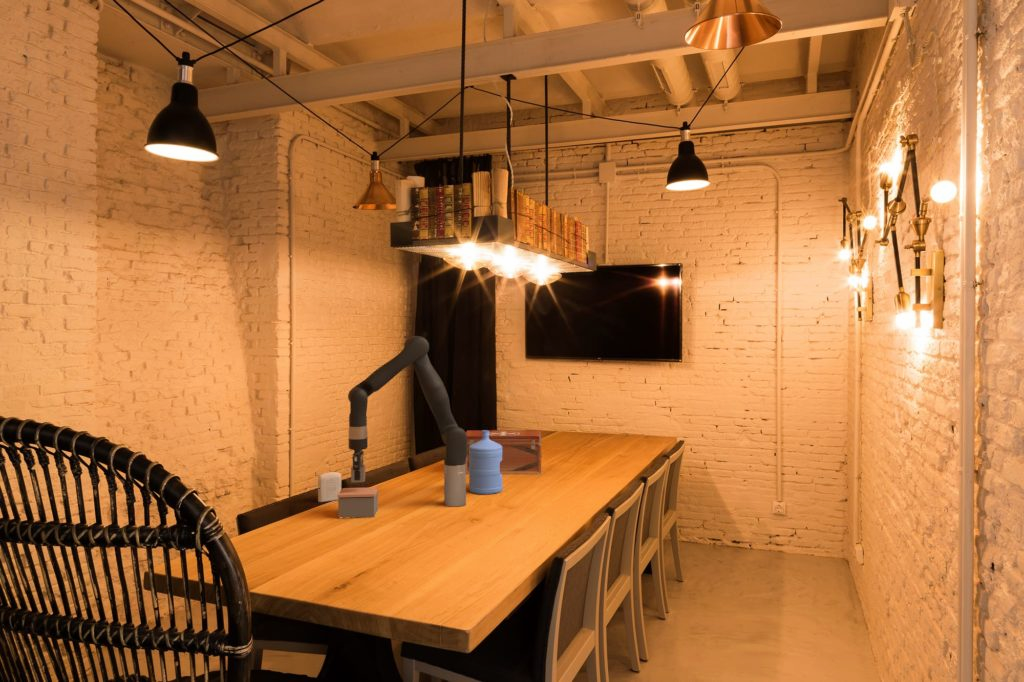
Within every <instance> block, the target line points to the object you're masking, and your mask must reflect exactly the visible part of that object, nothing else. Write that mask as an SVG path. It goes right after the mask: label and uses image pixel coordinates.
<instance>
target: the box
mask: <svg viewBox="0 0 1024 682" xmlns="http://www.w3.org/2000/svg"><path fill="white" fill-rule="evenodd" d="M378 493H379V490H378V491H377V493H376V495H375V497H340V498H338V500H337V502H338V503H337V504H338V505H337V506H338V508H337V509H338V510H337V511H338V512H337V513H338V517H339V518H338V519H341V518H340V517H343V518H342V519H346V518H345V517H374V516H375V517H376V515H377V513H376V512H378V510H379V498H378V497H379V494H378ZM375 514H376V515H375ZM375 517H374V518H375Z"/></svg>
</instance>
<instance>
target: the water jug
mask: <svg viewBox="0 0 1024 682" xmlns="http://www.w3.org/2000/svg"><path fill="white" fill-rule="evenodd" d="M501 461H502V446H501V445H500V444H498V443H496V442H494V441H492V440H490V439H489V430H488V429H484V430H483V429H482V440H480V441H478V442H476V443H474V444H472V445H470V446H469V474H468V477H469V478H468V479H469V481H468V482H469V483H468V484H469V485H468V490H469V492H470V493H472V494H474V495H475V494H476V495H494V494H499V493H501V492H502V491H503V489H504V485H503V474H500V462H501Z"/></svg>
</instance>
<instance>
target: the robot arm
mask: <svg viewBox="0 0 1024 682" xmlns="http://www.w3.org/2000/svg"><path fill="white" fill-rule="evenodd" d="M403 346H404V347H403V349H402V350H401V351H400V352H399V353H398V354H397V355H396V356H394V357H392V359H390V360H389V361H387V362H385V363H384V364H383V365H381V366H379V367H378V368H377V369H375V371H373V372H372V373H371V374H370V375H368V376H367V377H366V378H365V379H364V380H362V381H361V382H359V383H358V384H357V385H355V386H354V387H352V388H351V389H350V390H349V391H348V394H347V398H348V401H349V403H350V408H349V409H350V413H349V416H348V449H349V450H352V451H354V452H353V453H352V456H351V459H352V466H353V470H354V480H355V481H358V480H360V470H361V469H360V466H361V465H364V453H365V452H364V450H366V449H368V443H369V442H368V427H367V426H368V419H367V418H368V417H367V412H368V402H369V401H368V398H369V397H370V396H371V395H373V393H376V392H378V391H379V390H381V389H382V388H383V387H385V385H387V384H388V383H390V381H392V380H393V378H394V377H396V376H397V375H398V374H399V373H401V372H402V371H403V370H404V369H406V368H407V367H408V366H410V365H412V366H413V368H414V371H415V373H416V376H417V378H418V382H419V385H420V387H421V391H422V394H423V395H424V397H425V400H426V403H427V405H428V406H429V410H430V411H431V413H432V414H433V417H434V418H435V421H436V423H437V426H438V429H439V432H440V436H441V439H442V442H443V443H444V445H446V446H445V447H446V448H445V456H444V458H443V480H444V481H443V483H444V484H443V487H444V488H443V489H444V490H443V493H444V494H443V495H444V497H443V501H444V502H443V503H444V505H445V506H448V507H461V506H466V505H467V483H466V482H467V479H466V478H467V477H466V476H467V474H466V458H467V435H466V432H467V431H465V430H464V429H463V428H461V427H459V425H458V423H457V422H456V420H455V418H454V416H453V414H452V411H451V405H450V398H449V395H448V392H447V389H446V387H445V385H444V382H443V381H442V379H441V377H440V376H439V373H437V371H436V370H435V368H434V367H433V365H432V363H431V361H430V358H429V356H428V352H429V350H430V343H429V342H428V339H426V338H425V337H423V336H419V335H413V336H409V337H408V338H407V339H406V340H405V341H404V344H403ZM356 465H358V467H356Z"/></svg>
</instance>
